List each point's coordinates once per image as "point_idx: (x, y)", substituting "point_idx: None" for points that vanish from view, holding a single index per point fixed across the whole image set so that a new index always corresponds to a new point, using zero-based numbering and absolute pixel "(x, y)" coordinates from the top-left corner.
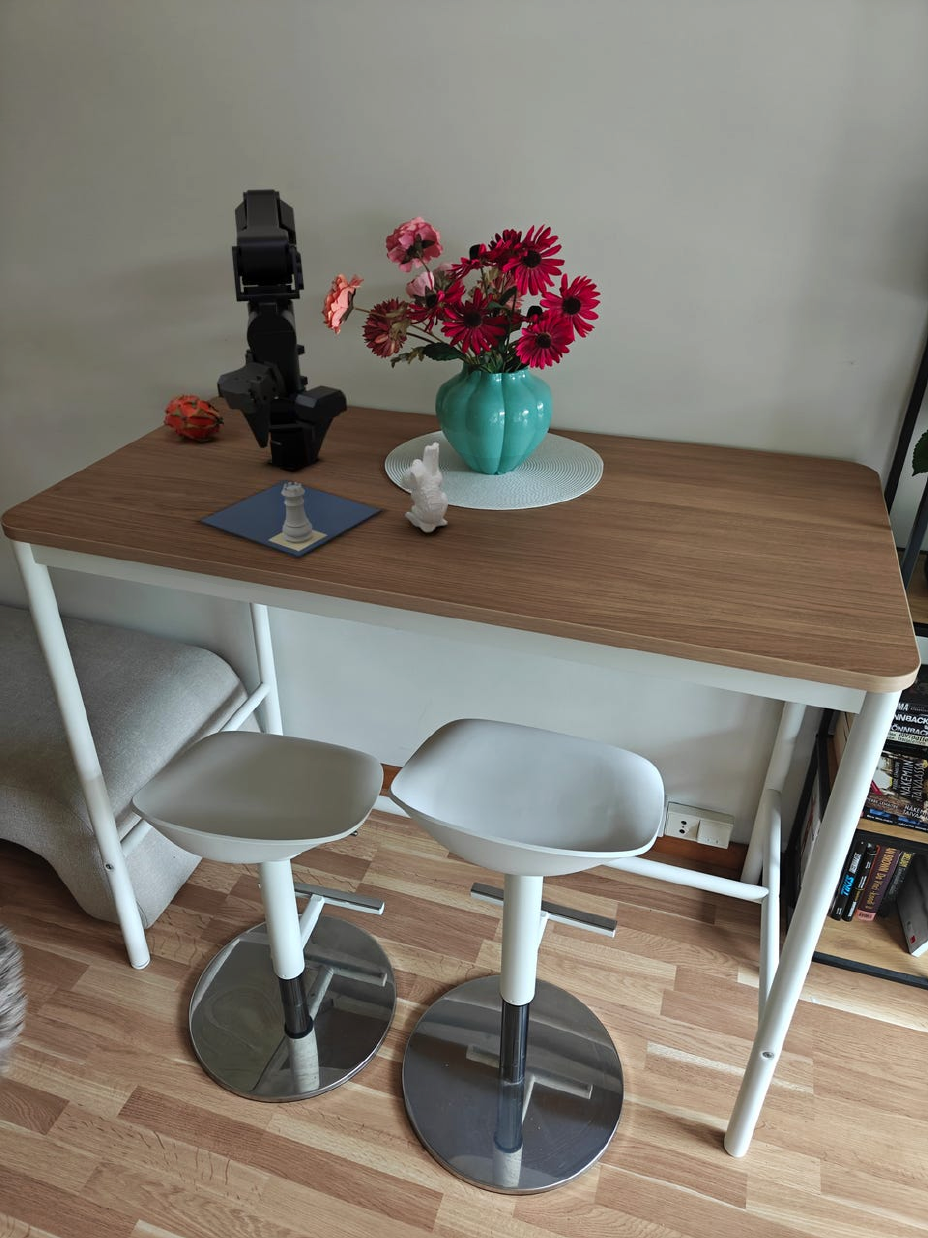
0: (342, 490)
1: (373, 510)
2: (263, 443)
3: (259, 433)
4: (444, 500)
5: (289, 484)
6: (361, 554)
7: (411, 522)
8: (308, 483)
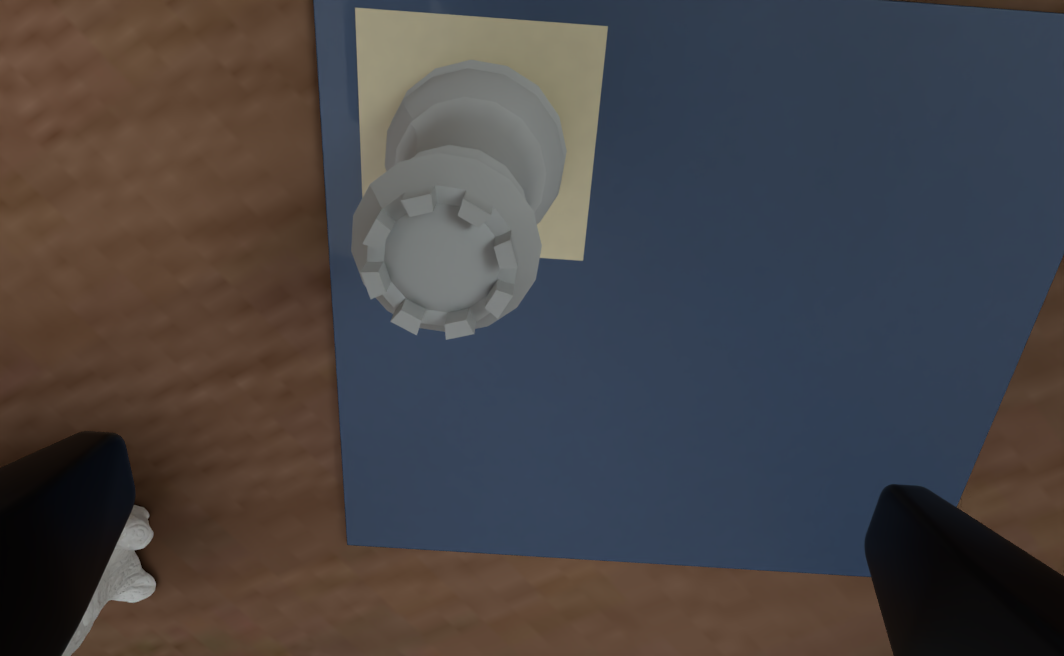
0: (632, 612)
1: (370, 528)
2: (900, 540)
3: (997, 630)
4: None
5: (496, 288)
6: (86, 175)
7: (141, 510)
8: (814, 603)
